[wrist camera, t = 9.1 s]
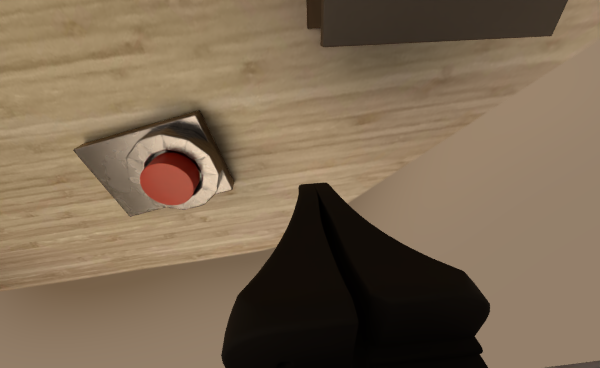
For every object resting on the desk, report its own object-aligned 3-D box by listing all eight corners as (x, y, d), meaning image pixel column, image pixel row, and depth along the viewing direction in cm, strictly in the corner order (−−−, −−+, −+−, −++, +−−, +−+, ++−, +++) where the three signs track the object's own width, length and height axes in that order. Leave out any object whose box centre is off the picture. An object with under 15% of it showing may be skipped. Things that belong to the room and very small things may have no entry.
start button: (186, 146, 18) (177, 157, 16) (208, 186, 19) (202, 198, 18) (140, 159, 18) (128, 170, 16) (166, 197, 20) (158, 210, 18)
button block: (202, 108, 19) (191, 121, 16) (237, 181, 23) (232, 200, 20) (83, 143, 19) (54, 159, 17) (136, 208, 23) (119, 229, 21)
